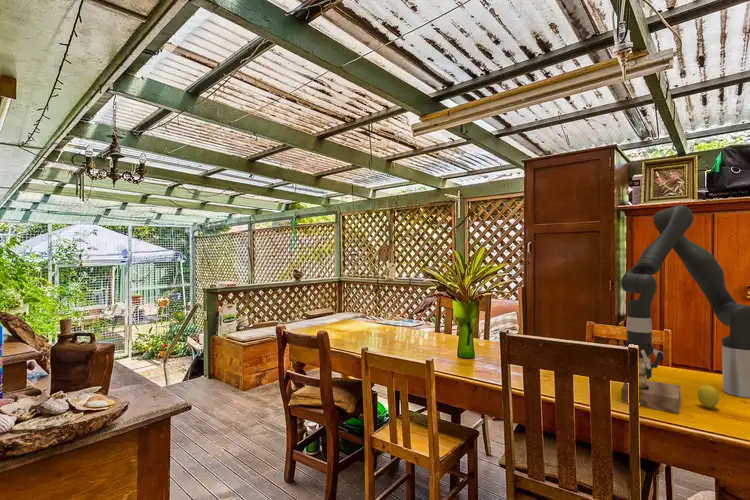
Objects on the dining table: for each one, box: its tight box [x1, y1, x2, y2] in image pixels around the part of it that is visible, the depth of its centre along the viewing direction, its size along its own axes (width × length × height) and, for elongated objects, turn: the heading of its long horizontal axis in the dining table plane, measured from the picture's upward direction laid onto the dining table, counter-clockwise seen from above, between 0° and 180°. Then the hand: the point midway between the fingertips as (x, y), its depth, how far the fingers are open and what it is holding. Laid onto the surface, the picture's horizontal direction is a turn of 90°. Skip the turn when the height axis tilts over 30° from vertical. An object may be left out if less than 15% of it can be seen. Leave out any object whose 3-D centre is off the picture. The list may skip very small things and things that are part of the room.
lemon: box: [697, 383, 720, 409], centre depth 131 cm, size 6×6×8 cm
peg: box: [639, 357, 647, 389], centre depth 138 cm, size 4×4×11 cm
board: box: [620, 379, 682, 415], centre depth 138 cm, size 16×15×5 cm
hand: (639, 376), depth 138 cm, fingers closed on peg, 4 cm apart
